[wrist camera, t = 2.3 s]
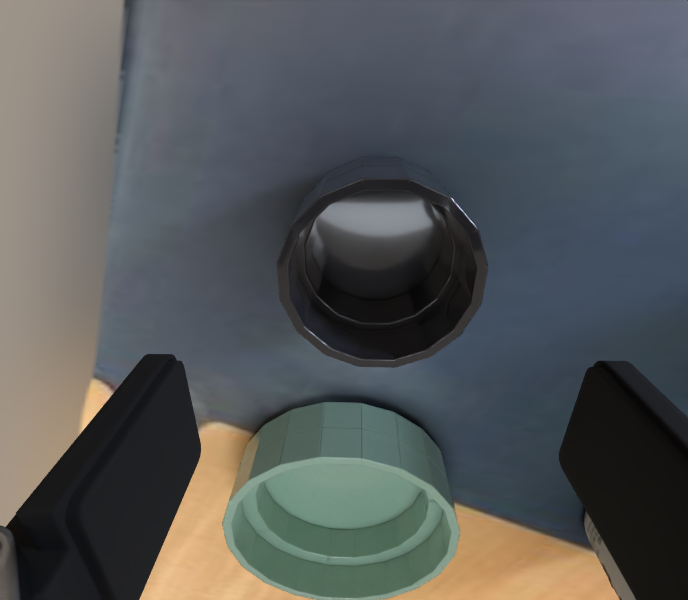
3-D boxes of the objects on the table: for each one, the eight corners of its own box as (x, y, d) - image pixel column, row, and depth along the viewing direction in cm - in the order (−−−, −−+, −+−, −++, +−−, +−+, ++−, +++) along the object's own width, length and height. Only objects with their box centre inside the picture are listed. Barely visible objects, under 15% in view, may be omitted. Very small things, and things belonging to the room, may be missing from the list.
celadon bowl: (232, 391, 23) (206, 453, 19) (456, 397, 23) (476, 462, 19) (254, 529, 29) (238, 598, 26) (432, 535, 29) (444, 606, 25)
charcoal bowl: (292, 154, 17) (269, 177, 13) (467, 155, 17) (505, 179, 13) (300, 306, 21) (285, 365, 16) (445, 308, 20) (469, 369, 16)
